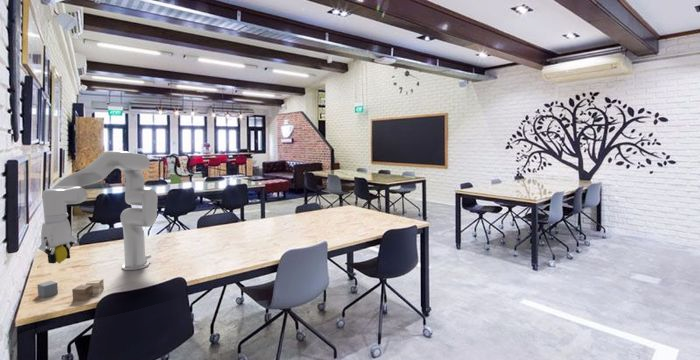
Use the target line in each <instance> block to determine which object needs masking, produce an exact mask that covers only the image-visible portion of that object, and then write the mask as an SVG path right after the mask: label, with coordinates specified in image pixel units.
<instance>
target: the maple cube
mask: <svg viewBox="0 0 700 360" xmlns="http://www.w3.org/2000/svg"><path fill="white" fill-rule="evenodd" d="M85 285H93V295H95V294H101V293H102V291H104V290H105V287H104V286H105V285H104V278H94V279H93V278H92V279H91V278H90V280H88V281H87V282H86V283H85Z"/></svg>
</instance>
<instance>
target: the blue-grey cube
mask: <svg viewBox="0 0 700 360" xmlns="http://www.w3.org/2000/svg"><path fill="white" fill-rule="evenodd" d="M58 294H59V289H58V282H56V281H54V280H49V281H44V282H42V283H39V284H37V295H38V297H42V298H44V299H45V298H48V297H52V296H55V295H58Z"/></svg>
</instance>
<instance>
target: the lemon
mask: <svg viewBox="0 0 700 360" xmlns="http://www.w3.org/2000/svg"><path fill="white" fill-rule="evenodd" d="M54 254H55V255H56V263H57V264H61V263H62V262H64V261H65V260H66V257H67V250H66V248H65V247H64V246H62V245H60V246H56V247H55V250H54Z"/></svg>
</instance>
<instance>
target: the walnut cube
mask: <svg viewBox="0 0 700 360" xmlns="http://www.w3.org/2000/svg"><path fill="white" fill-rule="evenodd" d="M71 292H72V301H75V302H76V301H80V302H82V301H83V302H85V301H87V300H89V299H91V298H92V297H94V294H93V285H86V284H80V285H78V286H76V287H74V288H72V289H71Z"/></svg>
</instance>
